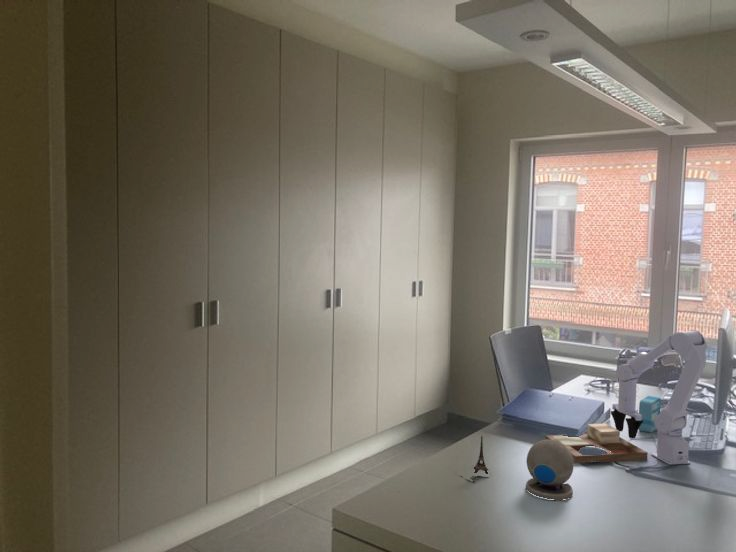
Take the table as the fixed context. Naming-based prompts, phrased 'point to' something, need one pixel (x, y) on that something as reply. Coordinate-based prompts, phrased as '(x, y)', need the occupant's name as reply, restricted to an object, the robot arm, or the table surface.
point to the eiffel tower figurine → (481, 465)
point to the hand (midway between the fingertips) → (625, 434)
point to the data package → (649, 413)
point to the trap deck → (618, 450)
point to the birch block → (603, 433)
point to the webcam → (550, 470)
